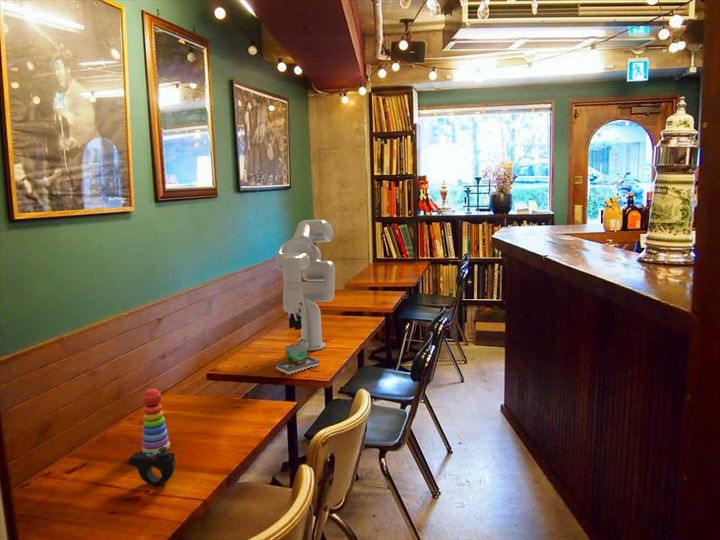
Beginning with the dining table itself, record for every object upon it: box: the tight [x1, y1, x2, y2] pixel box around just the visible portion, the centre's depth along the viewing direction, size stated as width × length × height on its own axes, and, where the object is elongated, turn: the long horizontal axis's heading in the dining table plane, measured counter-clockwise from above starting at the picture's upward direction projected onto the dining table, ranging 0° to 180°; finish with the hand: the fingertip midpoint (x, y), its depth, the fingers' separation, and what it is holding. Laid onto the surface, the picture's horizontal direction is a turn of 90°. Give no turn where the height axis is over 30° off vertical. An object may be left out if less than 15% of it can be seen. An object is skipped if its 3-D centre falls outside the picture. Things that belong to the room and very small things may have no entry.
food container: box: [284, 338, 308, 368], centre depth 230 cm, size 12×6×10 cm, turn 151°
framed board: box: [275, 355, 321, 375], centre depth 232 cm, size 10×16×2 cm, turn 129°
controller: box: [128, 447, 177, 486], centre depth 144 cm, size 4×12×10 cm, turn 80°
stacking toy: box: [141, 388, 171, 453], centre depth 162 cm, size 8×8×19 cm
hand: (295, 328), depth 230 cm, fingers open, 3 cm apart
